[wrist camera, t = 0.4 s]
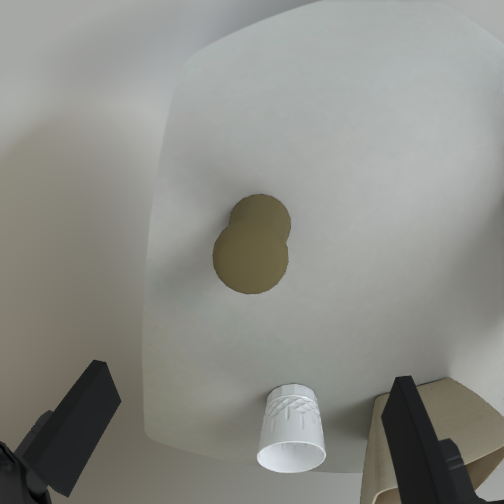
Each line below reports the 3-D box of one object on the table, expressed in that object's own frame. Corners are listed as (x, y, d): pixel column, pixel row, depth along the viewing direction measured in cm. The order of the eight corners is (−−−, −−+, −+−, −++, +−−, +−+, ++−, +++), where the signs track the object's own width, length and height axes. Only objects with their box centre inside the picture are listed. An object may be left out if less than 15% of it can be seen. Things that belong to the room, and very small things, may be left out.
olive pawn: (250, 263, 31) (234, 321, 20) (218, 214, 29) (183, 249, 19) (302, 235, 29) (312, 282, 19) (270, 182, 28) (263, 201, 17)
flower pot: (444, 429, 38) (470, 498, 22) (348, 453, 41) (357, 533, 25) (472, 354, 32) (524, 433, 16) (354, 383, 35) (376, 491, 19)
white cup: (263, 379, 36) (257, 440, 26) (324, 380, 35) (331, 440, 26) (262, 416, 38) (256, 471, 29) (316, 417, 38) (319, 472, 28)
